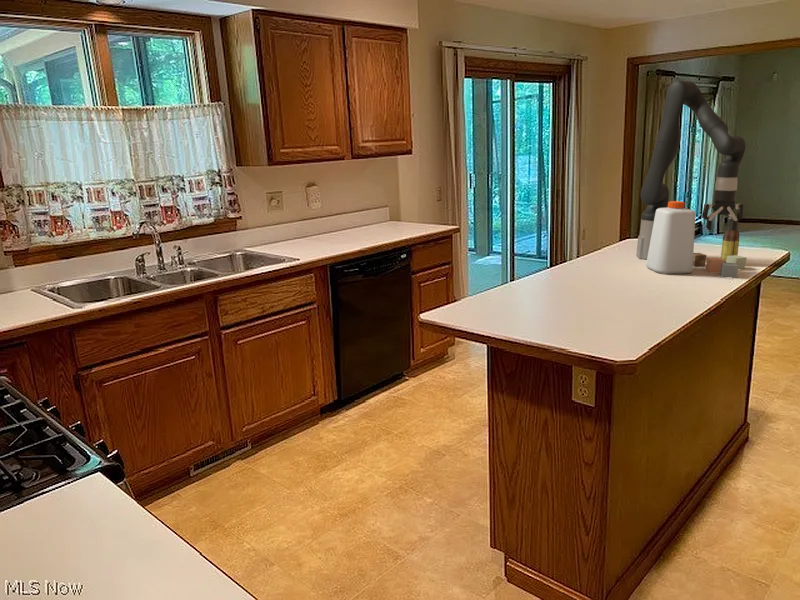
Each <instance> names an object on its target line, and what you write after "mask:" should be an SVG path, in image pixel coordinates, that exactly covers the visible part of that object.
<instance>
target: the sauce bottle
mask: <svg viewBox="0 0 800 600" xmlns="http://www.w3.org/2000/svg"><path fill="white" fill-rule="evenodd" d="M731 220H732V219H731V217H730V216H729V217H727V226H726V230H725V231H724V233H723V235H722V241H721V242H722V243H721V251H720V258H721V259H723V260H725V263H726V259H727V256H733V255H738V256H739V247H740V232H739V230H738V226H739V225H738V223H739V221H740V219H739V220H737V222H736V228H735V229H734V230H730V225H731Z"/></svg>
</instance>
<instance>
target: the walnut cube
mask: <svg viewBox="0 0 800 600" xmlns="http://www.w3.org/2000/svg"><path fill="white" fill-rule="evenodd" d="M706 264H707V254H705V253H701V252H693V268H700V267H699V266H705V267H706Z"/></svg>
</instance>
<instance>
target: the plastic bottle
mask: <svg viewBox="0 0 800 600" xmlns="http://www.w3.org/2000/svg"><path fill="white" fill-rule="evenodd" d="M685 204H686V203H685V202H684V201H681V200H680V201H679V200H670V201H669V200H668V206H667V208H658V209H657V210H656V213H655V218H654V224H653V229H652V235H651V240H650V246H649V251H648V257H647V259H646V263H645V266H646V268H647V269H649V270H651V271H653V272H655V273H657V274H663V275H685V274H690V273H692V272H693V270H694V269H693V268H694V267H693V253H695V252H694V250H695V231H696V230H695V228H696V211H694V209H690V208H685Z"/></svg>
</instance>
